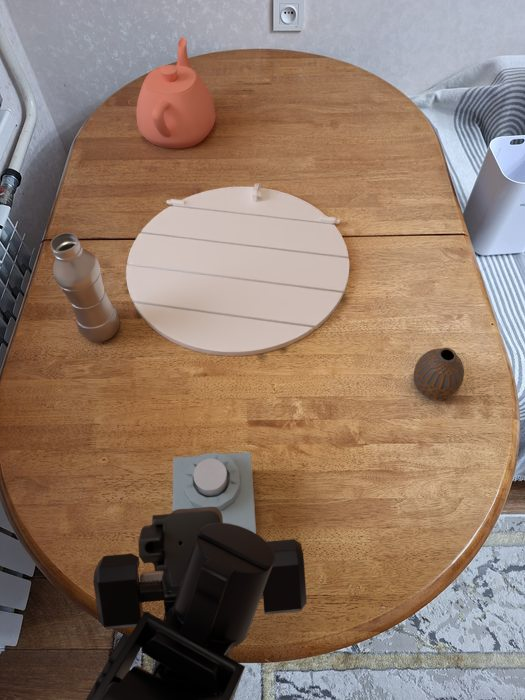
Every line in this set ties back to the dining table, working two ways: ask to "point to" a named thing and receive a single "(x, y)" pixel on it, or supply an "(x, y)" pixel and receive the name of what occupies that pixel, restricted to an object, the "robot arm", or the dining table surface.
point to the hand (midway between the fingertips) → (207, 537)
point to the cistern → (232, 501)
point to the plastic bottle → (84, 288)
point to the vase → (439, 373)
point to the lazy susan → (237, 270)
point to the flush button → (210, 477)
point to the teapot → (175, 105)
